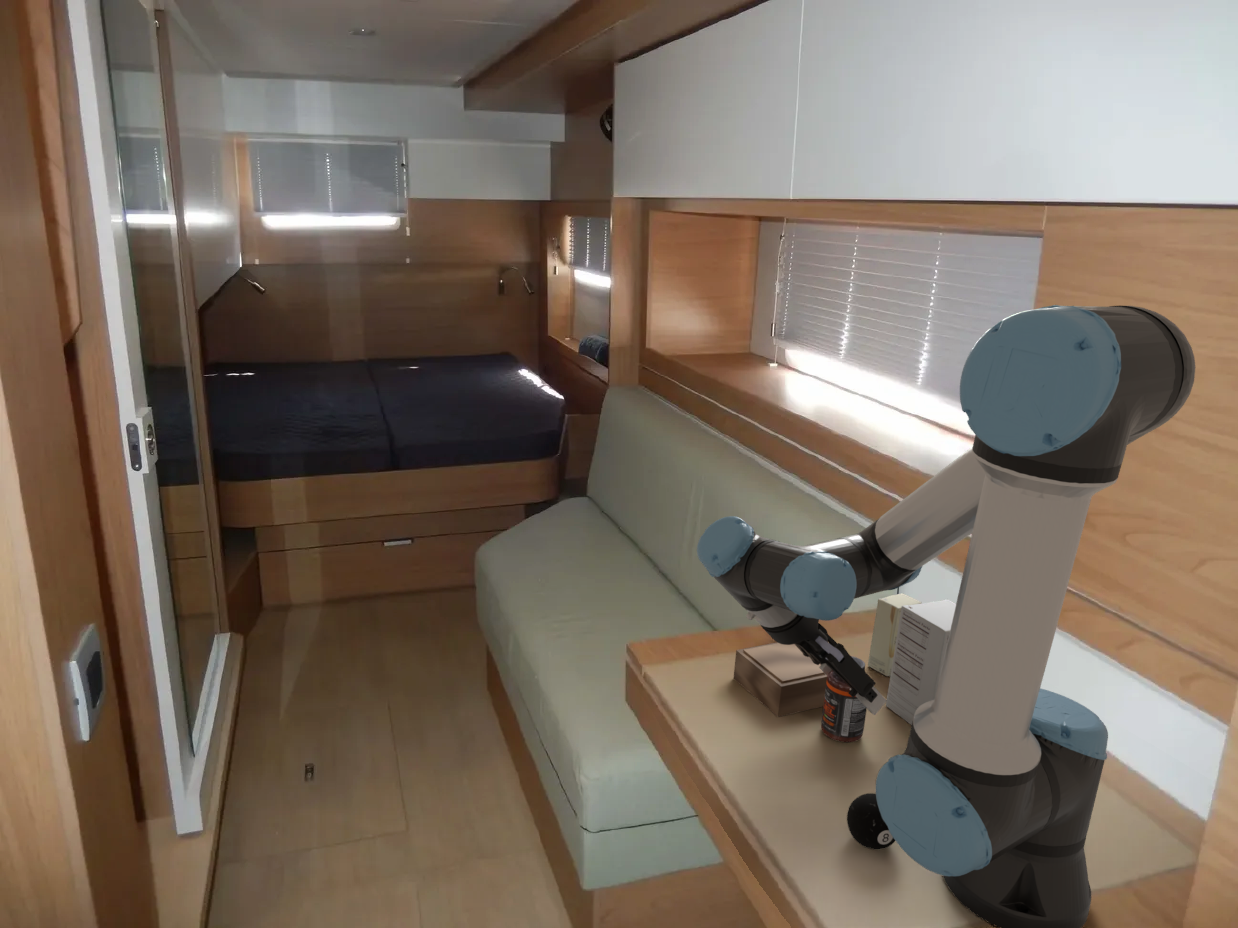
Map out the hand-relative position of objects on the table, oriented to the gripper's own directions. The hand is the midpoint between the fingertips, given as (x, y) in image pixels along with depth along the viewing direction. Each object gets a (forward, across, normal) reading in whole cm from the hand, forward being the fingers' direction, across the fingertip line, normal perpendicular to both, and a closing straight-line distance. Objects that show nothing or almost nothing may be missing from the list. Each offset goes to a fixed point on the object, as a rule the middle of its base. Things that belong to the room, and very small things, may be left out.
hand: (863, 695), depth 128 cm
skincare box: (+17, -13, +9) cm, 23 cm away
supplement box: (+13, +1, +5) cm, 14 cm away
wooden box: (+2, -13, -6) cm, 15 cm away
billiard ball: (-6, +20, -15) cm, 26 cm away
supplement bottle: (+2, 0, -6) cm, 6 cm away
